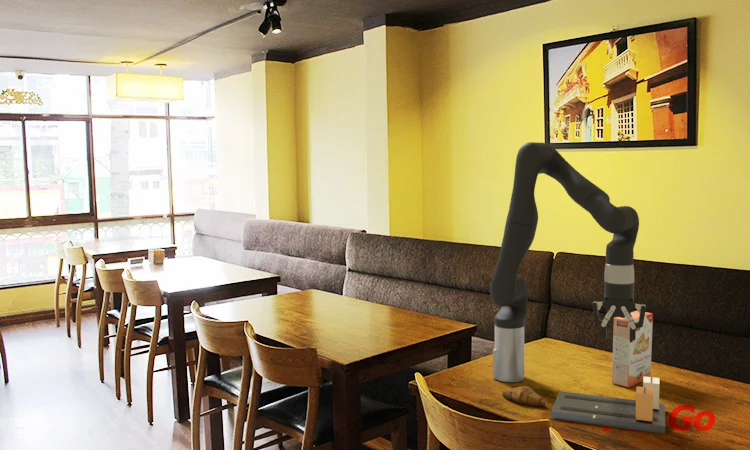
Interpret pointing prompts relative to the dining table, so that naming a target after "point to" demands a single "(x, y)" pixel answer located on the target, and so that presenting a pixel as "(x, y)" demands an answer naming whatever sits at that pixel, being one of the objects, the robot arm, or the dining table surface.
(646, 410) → the orange block
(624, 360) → the cracker box
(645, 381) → the ivory fader
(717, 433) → the dining table surface
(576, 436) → the dining table surface
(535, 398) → the croissant
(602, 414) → the console
